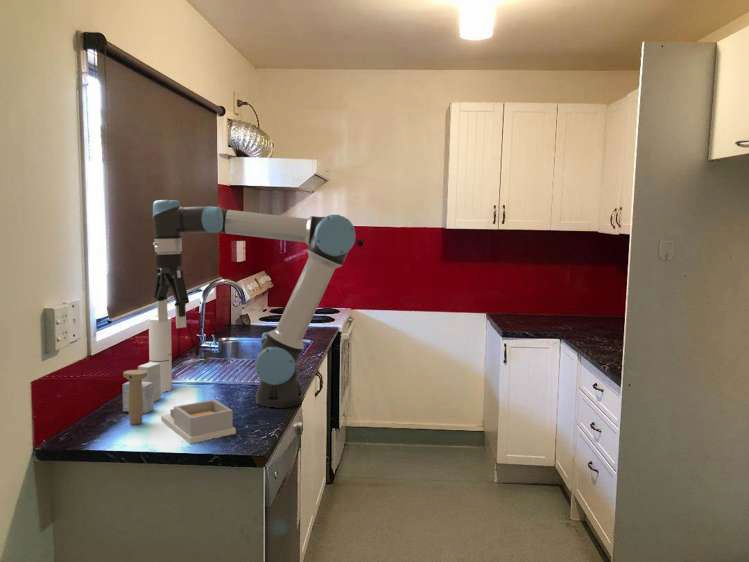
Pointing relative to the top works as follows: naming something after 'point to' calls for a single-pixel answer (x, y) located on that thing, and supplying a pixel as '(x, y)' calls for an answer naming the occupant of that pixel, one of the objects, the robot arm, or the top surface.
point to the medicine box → (146, 392)
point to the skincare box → (152, 377)
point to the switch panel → (200, 421)
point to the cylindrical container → (161, 350)
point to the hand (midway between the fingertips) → (171, 324)
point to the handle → (135, 394)
